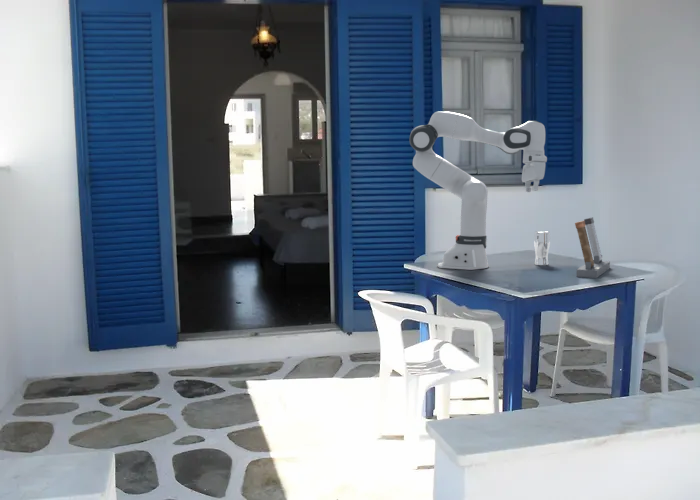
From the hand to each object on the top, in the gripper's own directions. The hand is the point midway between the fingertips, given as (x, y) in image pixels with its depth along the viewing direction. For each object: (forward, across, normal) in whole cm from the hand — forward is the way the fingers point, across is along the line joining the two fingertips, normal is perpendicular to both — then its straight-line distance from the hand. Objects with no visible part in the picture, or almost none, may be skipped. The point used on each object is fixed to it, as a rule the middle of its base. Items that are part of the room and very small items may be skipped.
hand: (531, 191), depth 321 cm
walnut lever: (+31, +14, +22) cm, 41 cm away
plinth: (+33, +6, +27) cm, 43 cm away
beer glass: (+32, -18, +12) cm, 38 cm away
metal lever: (+29, -1, +32) cm, 43 cm away
